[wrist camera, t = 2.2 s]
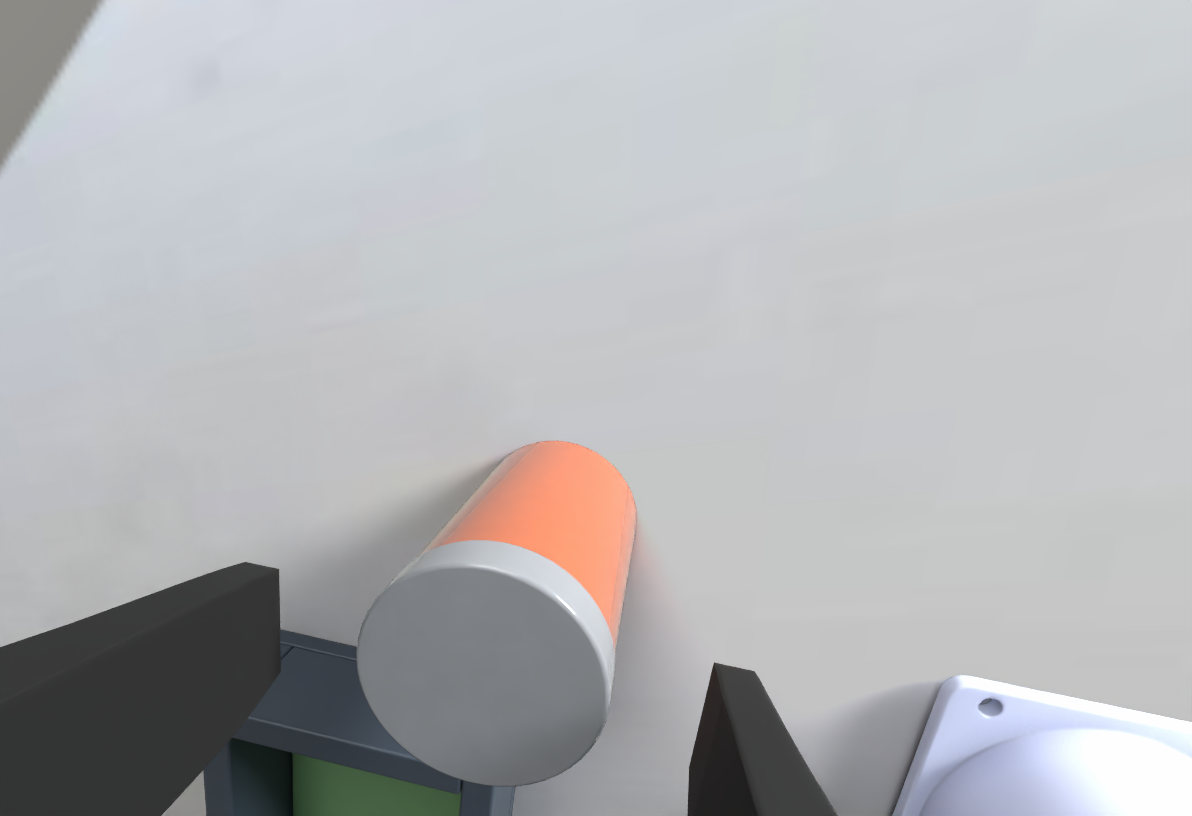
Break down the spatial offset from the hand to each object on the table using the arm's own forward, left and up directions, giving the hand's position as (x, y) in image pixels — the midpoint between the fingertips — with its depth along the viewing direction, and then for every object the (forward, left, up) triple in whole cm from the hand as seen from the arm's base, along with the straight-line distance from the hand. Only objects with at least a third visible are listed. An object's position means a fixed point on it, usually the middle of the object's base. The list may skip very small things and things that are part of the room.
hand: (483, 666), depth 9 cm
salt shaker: (0, 0, -6) cm, 6 cm away
